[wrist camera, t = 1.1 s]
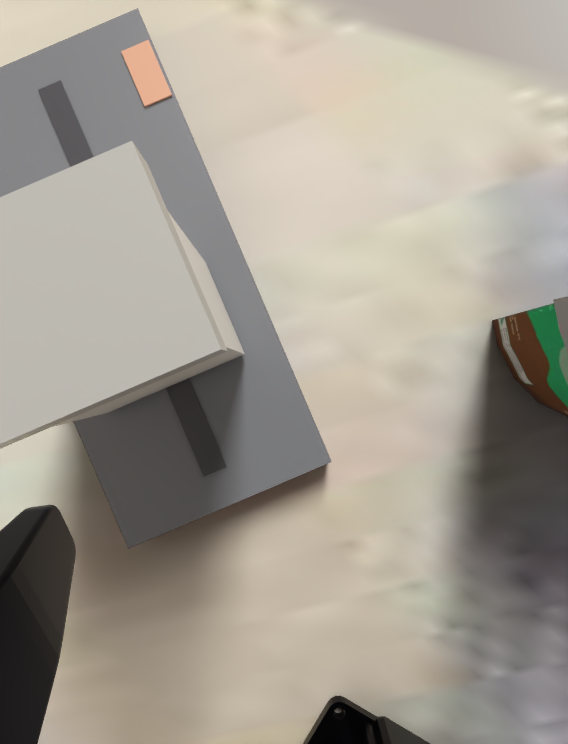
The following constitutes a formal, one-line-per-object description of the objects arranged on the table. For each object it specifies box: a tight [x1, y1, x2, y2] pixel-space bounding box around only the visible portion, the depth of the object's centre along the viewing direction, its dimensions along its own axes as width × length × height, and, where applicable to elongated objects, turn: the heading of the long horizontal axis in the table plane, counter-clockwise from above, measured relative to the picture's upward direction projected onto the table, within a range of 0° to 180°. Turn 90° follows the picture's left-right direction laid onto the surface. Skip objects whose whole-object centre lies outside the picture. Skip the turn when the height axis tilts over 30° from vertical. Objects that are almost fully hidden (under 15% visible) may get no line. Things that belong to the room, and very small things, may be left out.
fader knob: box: [0, 141, 245, 449], centre depth 16 cm, size 5×6×10 cm
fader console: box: [0, 8, 331, 549], centre depth 22 cm, size 20×9×2 cm, turn 23°
